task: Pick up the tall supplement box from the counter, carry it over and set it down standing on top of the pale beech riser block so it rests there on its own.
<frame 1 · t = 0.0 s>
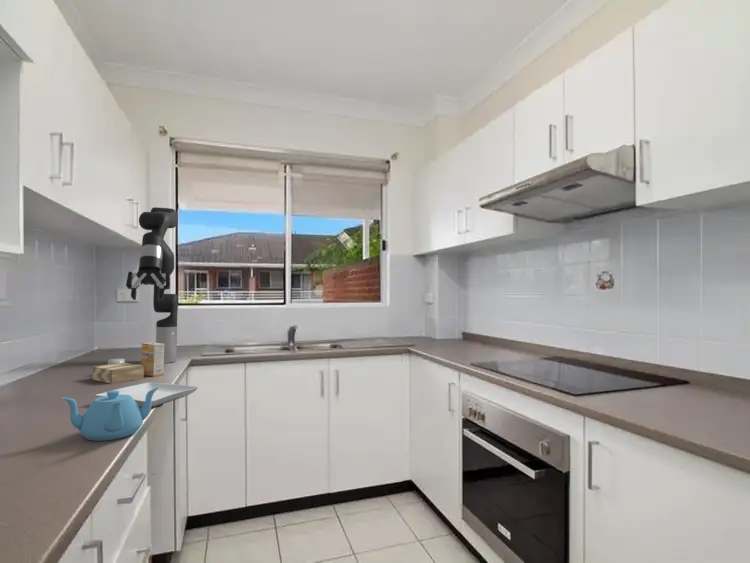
hand: (147, 299, 157), 31 cm above the countertop, tool tilted 20°, fingers open, 8 cm apart
teapot: (112, 436, 102), on the countertop
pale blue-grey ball: (116, 374, 177), on the countertop
salad plate: (149, 401, 136), on the countertop
riser: (118, 379, 167), on the countertop
supplement box: (152, 375, 176), on the countertop
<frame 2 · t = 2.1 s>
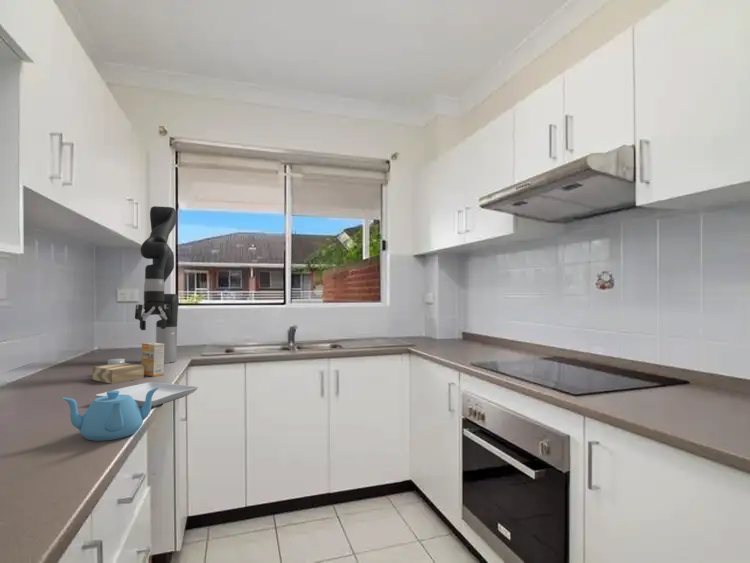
hand: (153, 329, 177), 19 cm above the countertop, tool pointing down, fingers open, 8 cm apart
nothing on the countertop moved.
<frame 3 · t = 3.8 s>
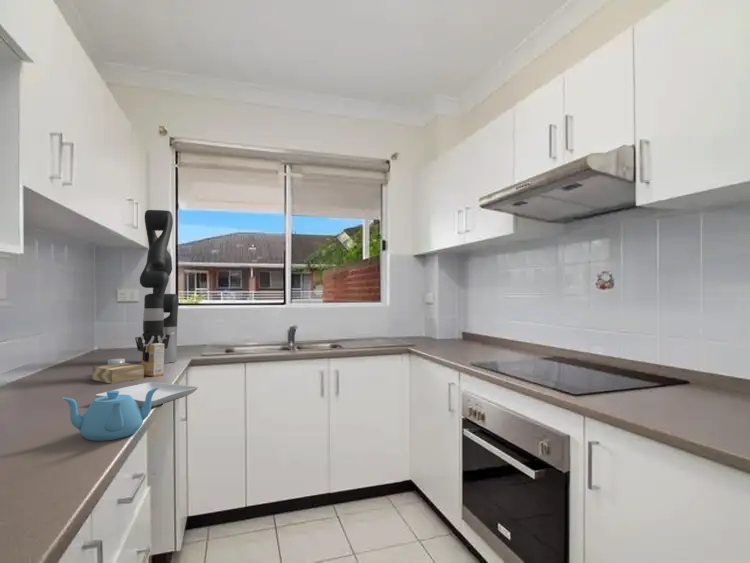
hand: (152, 360, 176), 6 cm above the countertop, tool pointing down, fingers closed on supplement box, 5 cm apart
supplement box: (152, 375, 176), on the countertop, touching gripper
everything else where it was.
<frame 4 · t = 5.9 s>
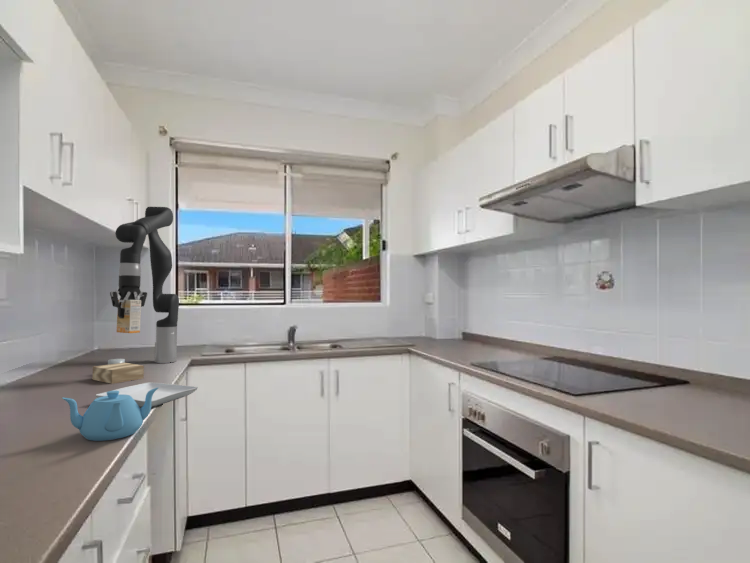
hand: (128, 317, 170), 24 cm above the countertop, tool pointing down, fingers closed on supplement box, 5 cm apart
supplement box: (128, 333, 170), point 18 cm above the countertop, touching gripper
everything else where it was.
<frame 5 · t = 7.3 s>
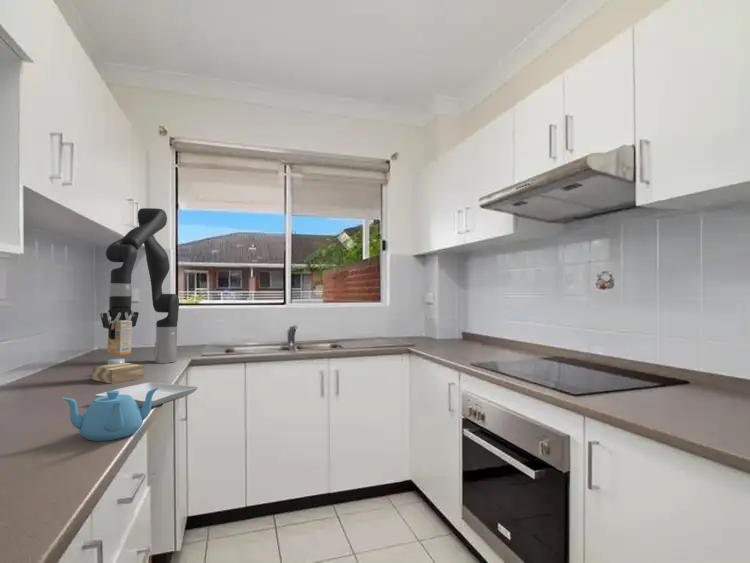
hand: (119, 338, 168), 16 cm above the countertop, tool pointing down, fingers closed on supplement box, 5 cm apart
supplement box: (119, 354, 168), point 10 cm above the countertop, touching gripper
everything else where it was.
when the fingers open (12 cm above the countertop, at t = 8.3 s): supplement box drops 1 cm, resting on riser.
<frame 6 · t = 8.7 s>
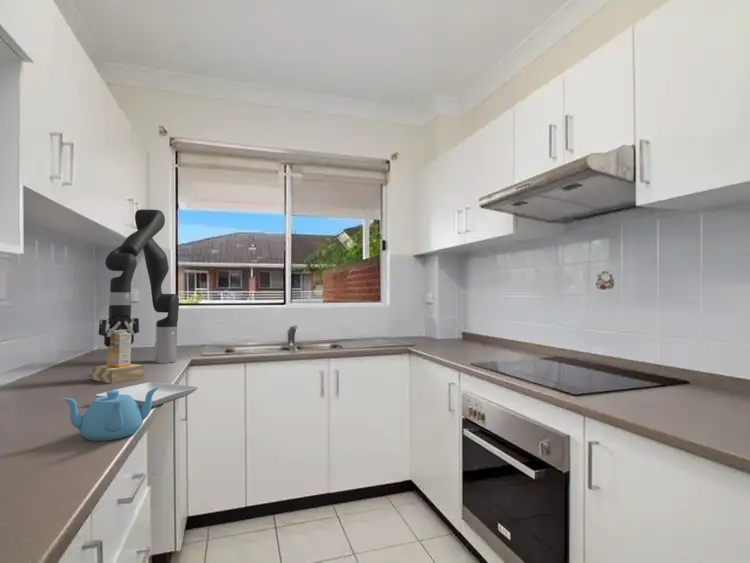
hand: (119, 345, 168), 13 cm above the countertop, tool pointing down, fingers open, 8 cm apart
supplement box: (118, 366, 168), point 5 cm above the countertop, touching riser
everything else where it was.
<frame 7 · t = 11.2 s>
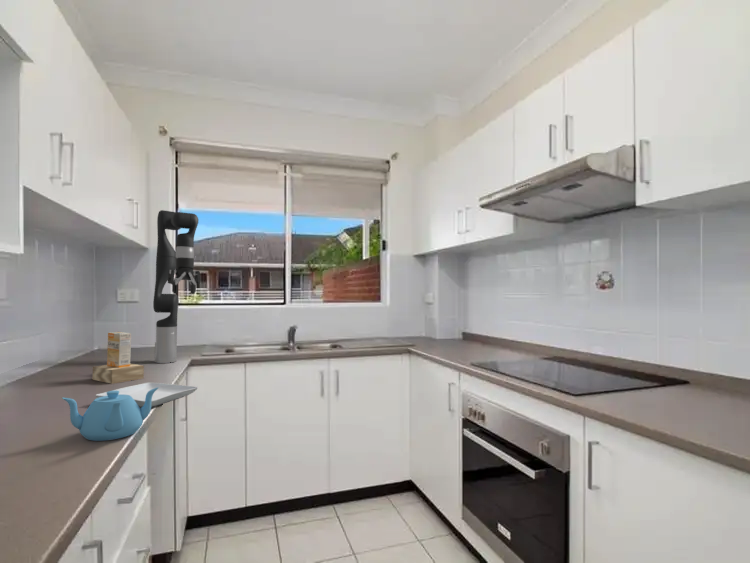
hand: (184, 293, 192), 34 cm above the countertop, tool pointing down, fingers open, 8 cm apart
nothing on the countertop moved.
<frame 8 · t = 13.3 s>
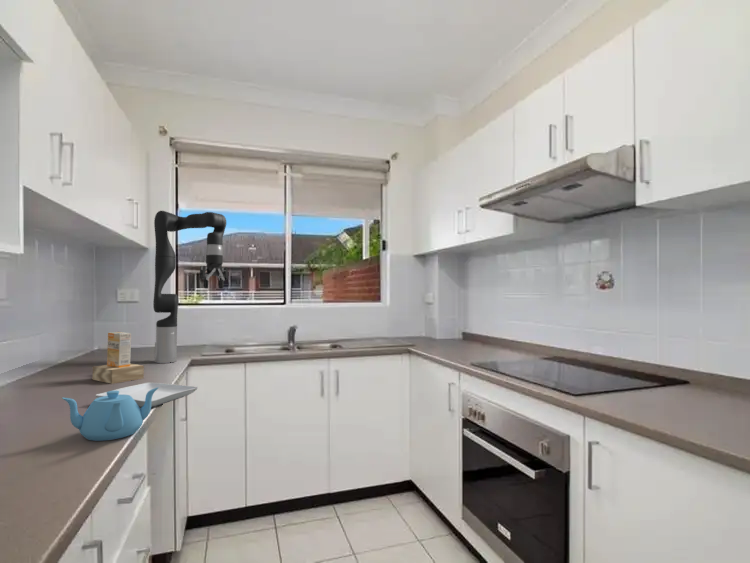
hand: (213, 288, 205), 36 cm above the countertop, tool pointing down, fingers open, 8 cm apart
nothing on the countertop moved.
at the end: supplement box inside the target area on the riser (0.1 cm from its centre), point 4.8 cm above the riser's base; supplement box tilted 0°; the gripper is holding nothing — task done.
